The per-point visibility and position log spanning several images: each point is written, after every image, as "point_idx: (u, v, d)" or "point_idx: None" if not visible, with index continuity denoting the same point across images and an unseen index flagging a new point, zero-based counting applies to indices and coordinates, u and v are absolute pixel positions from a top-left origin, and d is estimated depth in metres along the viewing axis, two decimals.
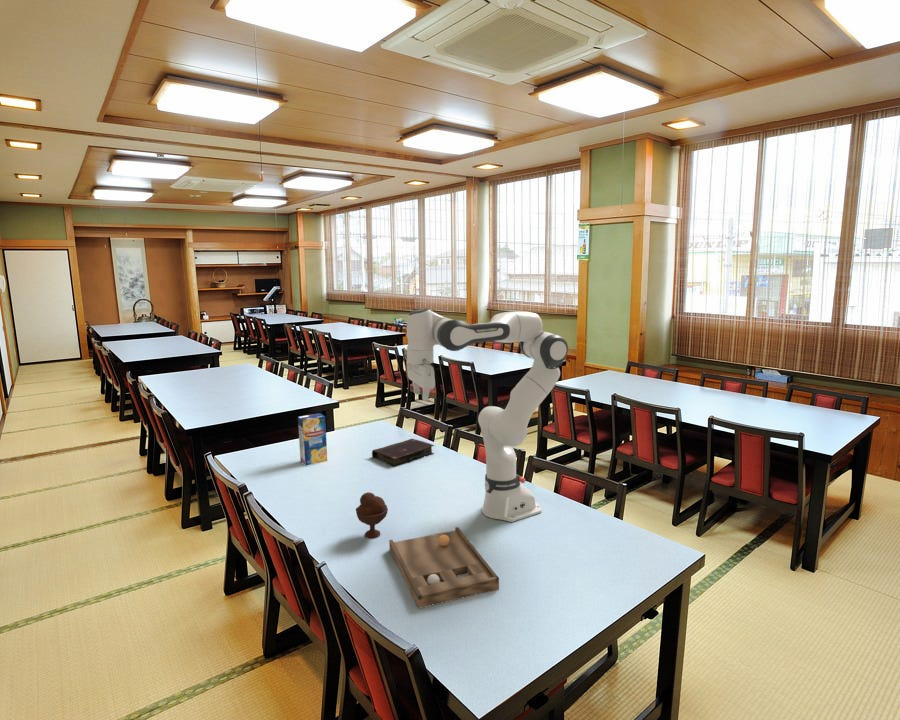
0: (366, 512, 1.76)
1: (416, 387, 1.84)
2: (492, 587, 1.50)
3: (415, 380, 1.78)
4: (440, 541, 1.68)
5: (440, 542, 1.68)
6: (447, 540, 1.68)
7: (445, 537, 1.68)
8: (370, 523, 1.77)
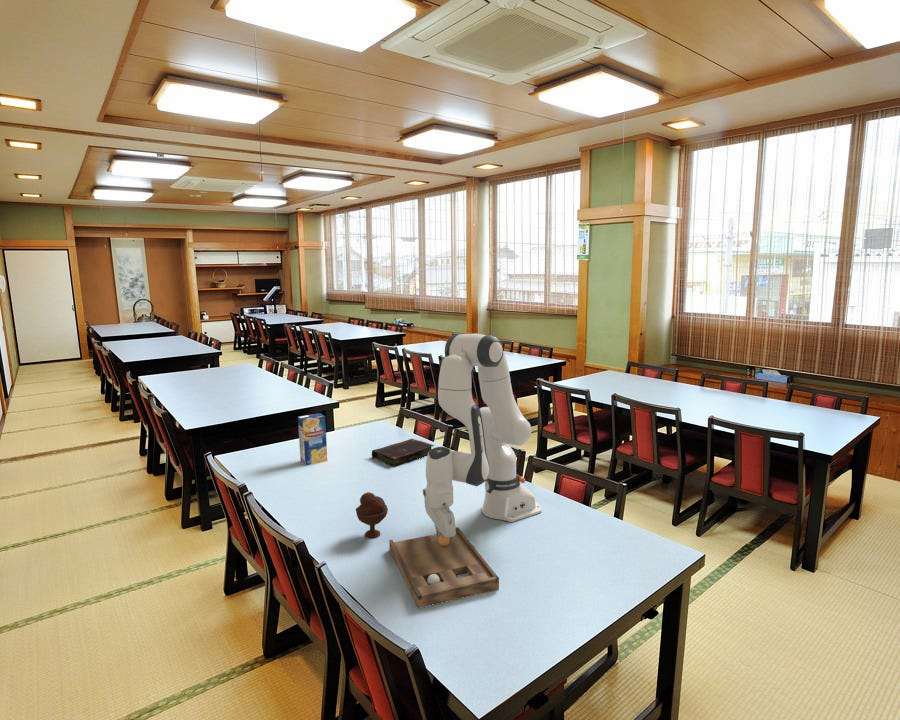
0: (366, 512, 1.76)
1: (438, 529, 1.73)
2: (492, 587, 1.50)
3: (434, 521, 1.71)
4: (440, 541, 1.68)
5: (440, 542, 1.68)
6: (447, 540, 1.68)
7: None
8: (370, 523, 1.77)
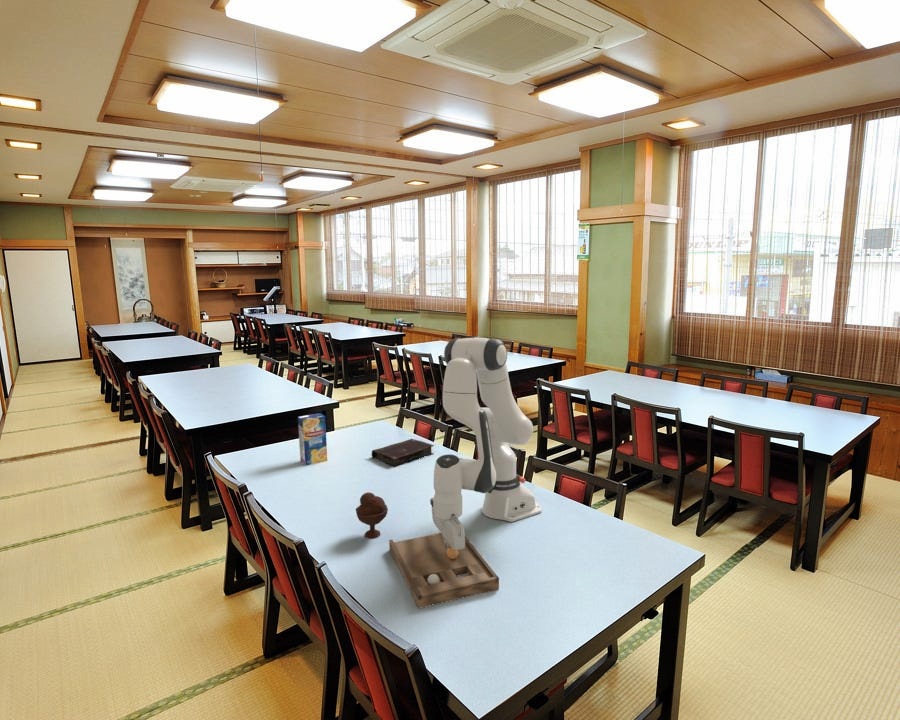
0: (366, 512, 1.76)
1: (446, 541, 1.65)
2: (492, 587, 1.50)
3: (442, 532, 1.63)
4: (447, 550, 1.62)
5: (447, 550, 1.61)
6: None
7: None
8: (370, 523, 1.77)
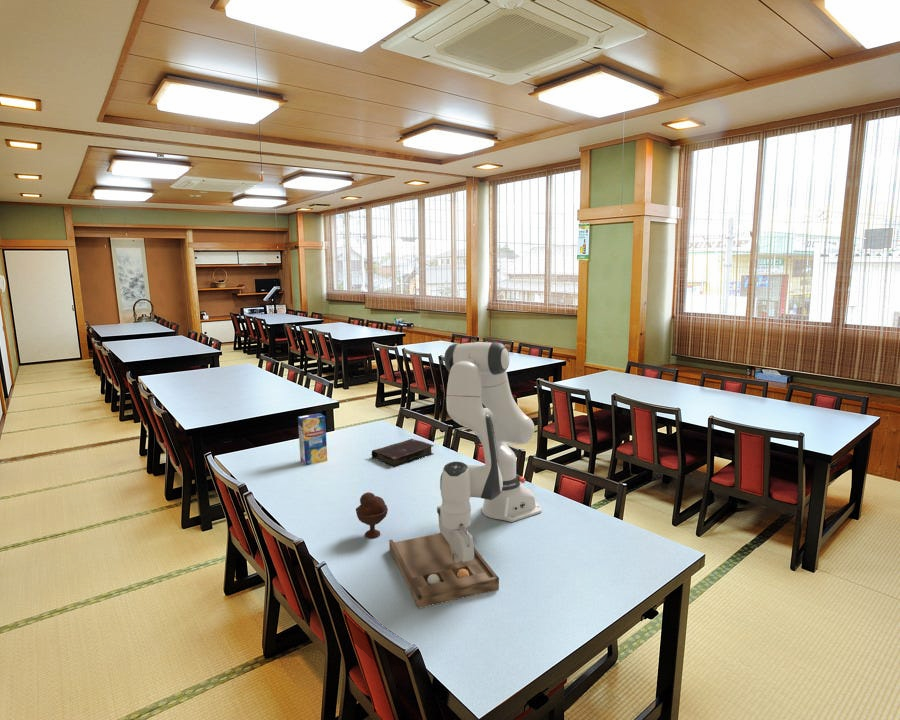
0: (366, 512, 1.76)
1: (454, 551, 1.59)
2: (492, 587, 1.50)
3: (450, 542, 1.57)
4: None
5: (457, 574, 1.54)
6: None
7: None
8: (370, 523, 1.77)
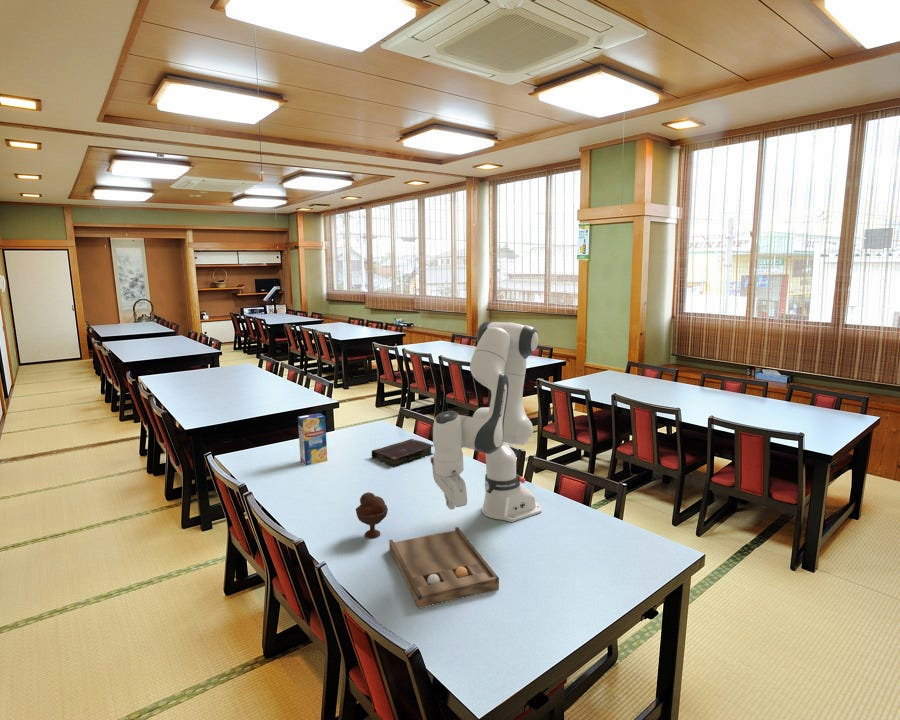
0: (366, 512, 1.76)
1: (448, 499, 1.63)
2: (492, 587, 1.50)
3: (443, 490, 1.61)
4: None
5: None
6: None
7: None
8: (370, 523, 1.77)
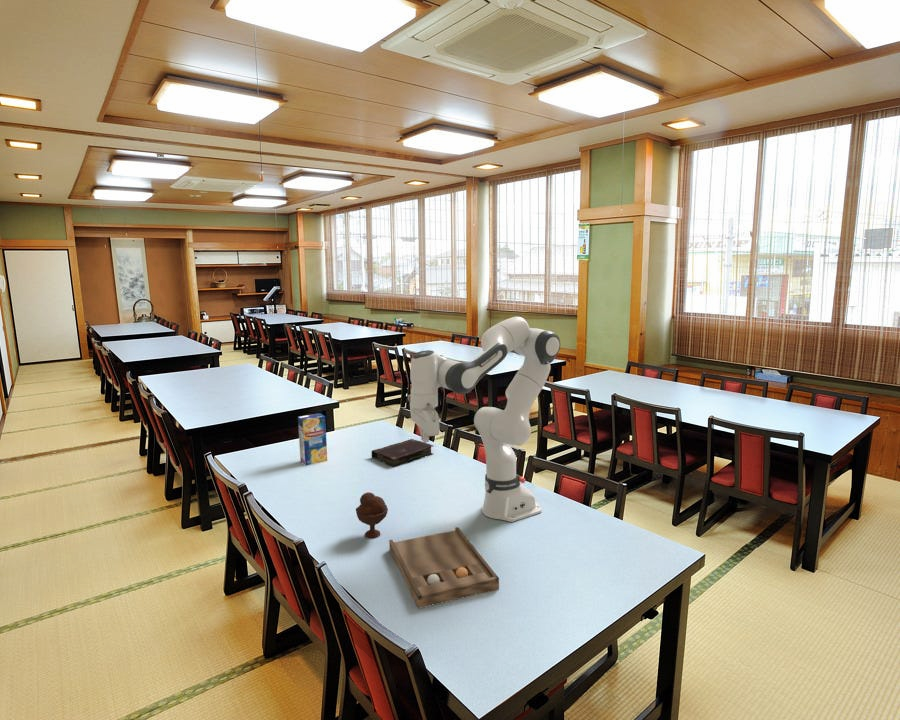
0: (366, 512, 1.76)
1: None
2: (492, 587, 1.50)
3: (419, 424, 1.73)
4: None
5: None
6: None
7: None
8: (370, 523, 1.77)
